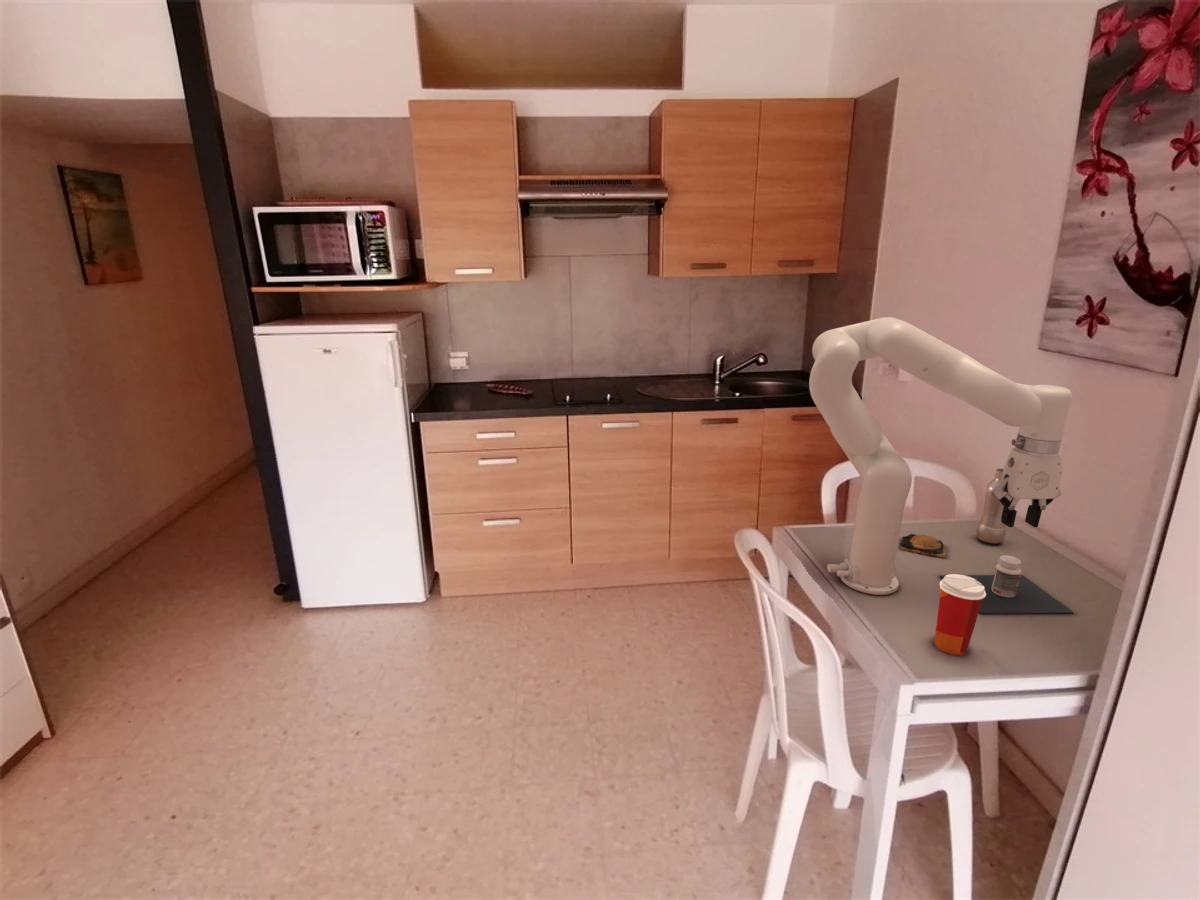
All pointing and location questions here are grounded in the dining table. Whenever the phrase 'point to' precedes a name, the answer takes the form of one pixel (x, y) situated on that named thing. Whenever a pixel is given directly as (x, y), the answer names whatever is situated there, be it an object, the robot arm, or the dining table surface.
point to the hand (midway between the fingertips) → (1019, 523)
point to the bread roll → (923, 545)
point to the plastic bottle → (992, 514)
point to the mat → (1018, 599)
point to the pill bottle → (1006, 576)
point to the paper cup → (957, 612)
